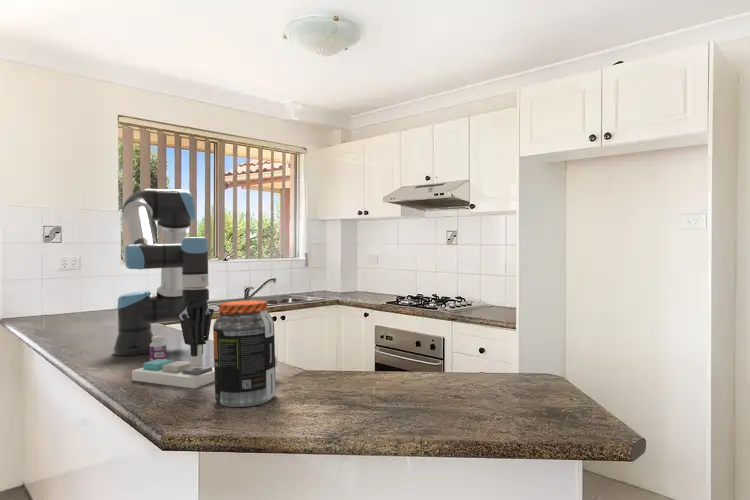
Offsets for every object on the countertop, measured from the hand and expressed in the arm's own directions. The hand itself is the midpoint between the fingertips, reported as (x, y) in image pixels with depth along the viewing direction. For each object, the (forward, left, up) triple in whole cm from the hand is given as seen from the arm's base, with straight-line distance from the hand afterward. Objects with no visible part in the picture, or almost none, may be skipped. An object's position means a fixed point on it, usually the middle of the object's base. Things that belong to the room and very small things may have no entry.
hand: (197, 366), depth 155 cm
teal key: (0, -16, -3) cm, 16 cm away
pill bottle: (-13, -30, -5) cm, 33 cm away
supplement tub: (+9, +25, -5) cm, 27 cm away
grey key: (0, -8, -3) cm, 8 cm away
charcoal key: (0, 0, -4) cm, 4 cm away
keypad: (0, -8, -5) cm, 9 cm away
